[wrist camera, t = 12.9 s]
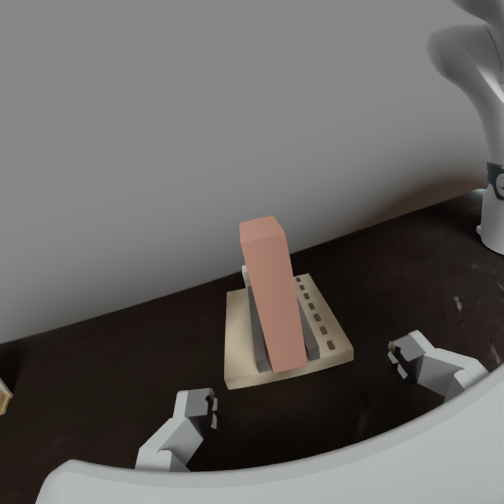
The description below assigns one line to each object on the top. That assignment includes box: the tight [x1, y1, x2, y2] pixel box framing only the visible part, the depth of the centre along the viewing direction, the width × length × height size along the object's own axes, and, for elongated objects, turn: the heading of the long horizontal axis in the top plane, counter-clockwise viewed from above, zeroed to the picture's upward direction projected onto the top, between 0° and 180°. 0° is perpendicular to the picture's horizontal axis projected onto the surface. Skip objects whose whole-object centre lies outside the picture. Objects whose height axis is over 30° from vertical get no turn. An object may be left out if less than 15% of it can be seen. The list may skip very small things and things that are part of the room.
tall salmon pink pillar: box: [239, 215, 307, 373], centre depth 23 cm, size 3×6×12 cm, turn 4°
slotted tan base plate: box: [224, 265, 354, 390], centre depth 31 cm, size 12×18×5 cm
